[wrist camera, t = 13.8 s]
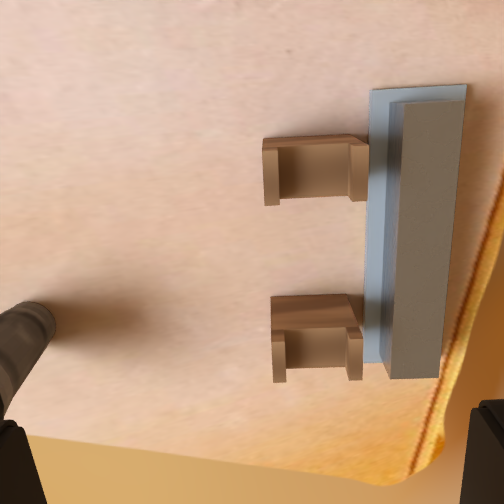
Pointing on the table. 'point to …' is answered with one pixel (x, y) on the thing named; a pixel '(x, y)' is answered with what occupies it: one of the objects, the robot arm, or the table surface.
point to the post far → (315, 335)
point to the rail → (418, 233)
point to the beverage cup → (21, 346)
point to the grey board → (377, 199)
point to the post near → (315, 167)
